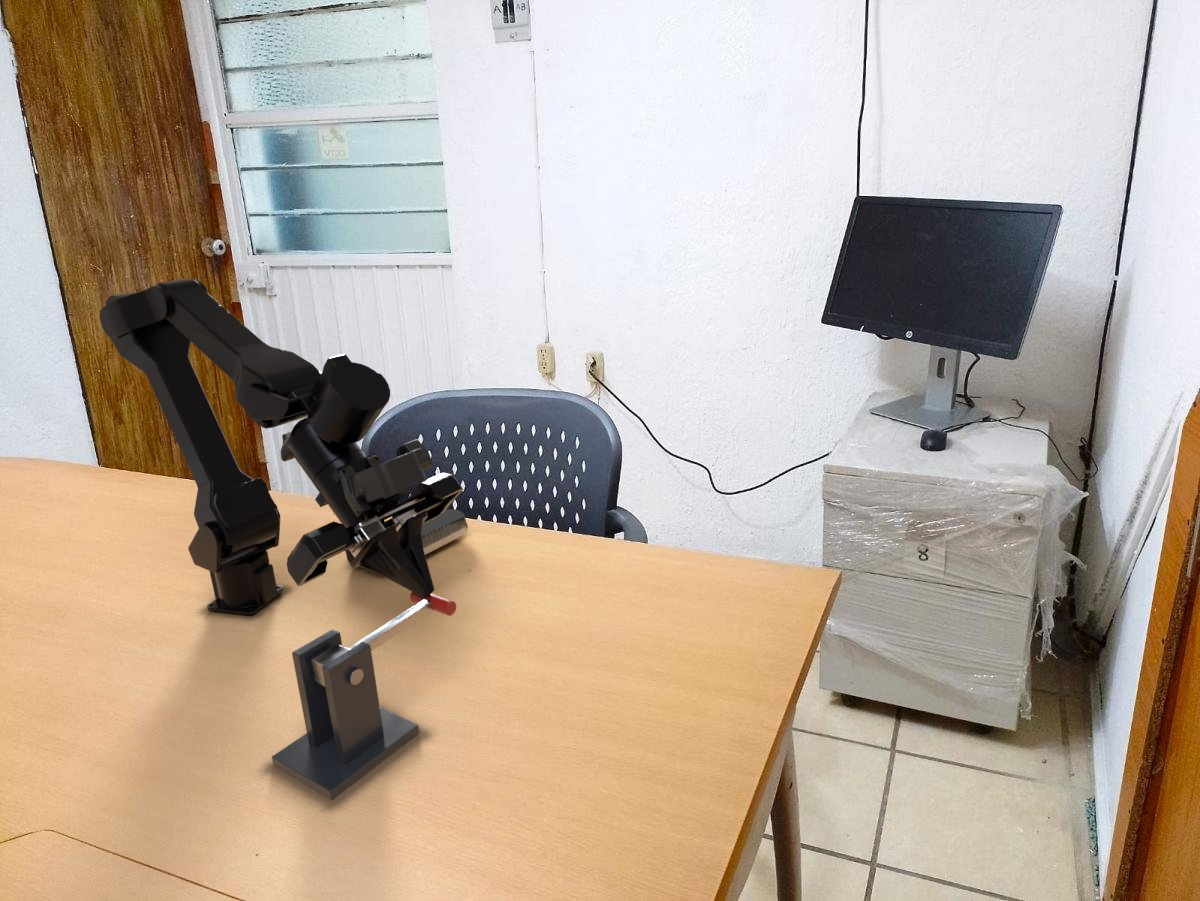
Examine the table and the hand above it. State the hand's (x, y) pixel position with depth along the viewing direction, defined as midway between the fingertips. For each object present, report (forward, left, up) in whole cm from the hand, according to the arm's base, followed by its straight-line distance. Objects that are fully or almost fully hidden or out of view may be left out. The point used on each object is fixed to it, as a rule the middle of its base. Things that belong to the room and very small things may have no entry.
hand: (429, 594), depth 80 cm
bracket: (-4, -11, -10) cm, 16 cm away
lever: (-2, -6, -2) cm, 6 cm away
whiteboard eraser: (-17, +27, -11) cm, 34 cm away
